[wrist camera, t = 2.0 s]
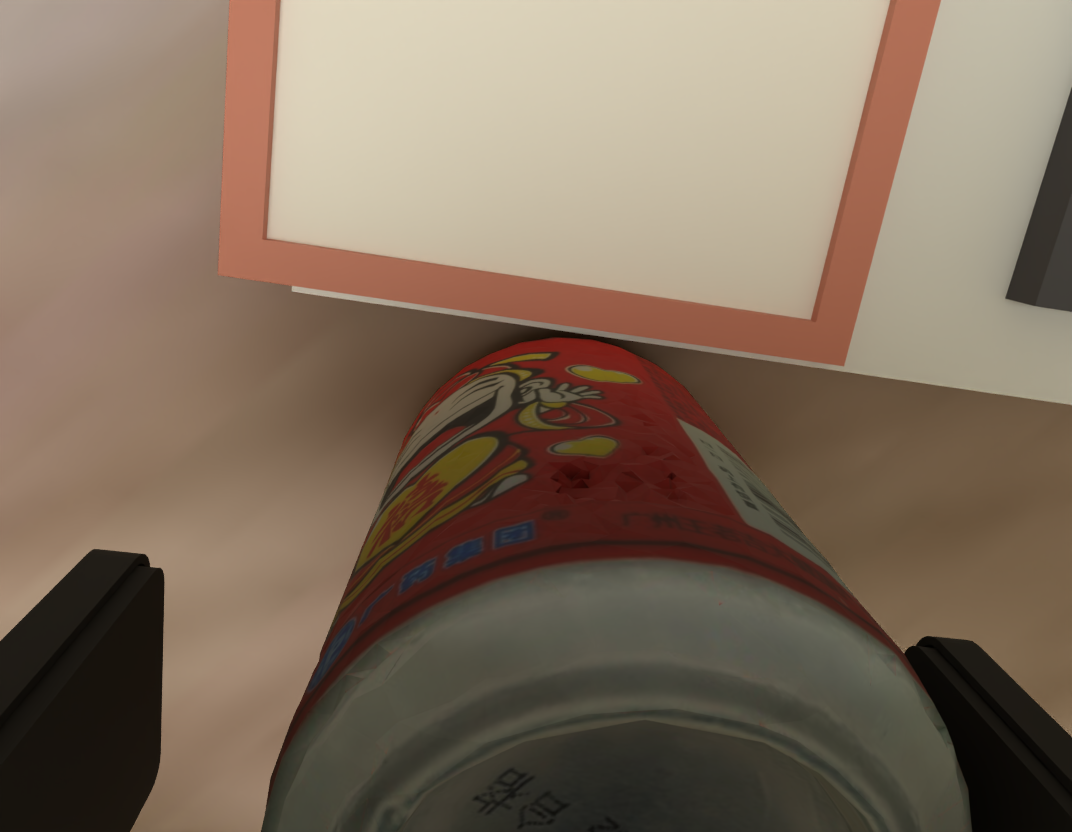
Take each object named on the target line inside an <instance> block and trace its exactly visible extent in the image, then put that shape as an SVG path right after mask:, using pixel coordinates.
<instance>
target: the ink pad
mask: <svg viewBox="0 0 1072 832" xmlns="http://www.w3.org/2000/svg"><path fill="white" fill-rule="evenodd" d="M1005 299H1009V300H1013V301H1016V302H1020V303H1024V304H1028V305H1032V306H1037V307H1043V308H1050V309H1056V310H1063V311H1069V312H1072V88H1071V91H1070V94H1069V97H1068V100H1067V104H1066V107H1065V110H1064V113H1063V116H1062V119H1061V123H1060V126H1059V129H1058V132H1057V135H1056V138H1055V142H1054V145H1053V148H1052V151H1051V154H1050V158H1049V161H1048V164H1047V167H1046V170H1045V173H1044V177H1043V180H1042V183H1041V186H1040V189H1039V193H1038V196H1037V199H1036V202H1035V205H1034V208H1033V212H1032V215H1031V218H1030V221H1029V224H1028V227H1027V231H1026V234H1025V237H1024V240H1023V243H1022V247H1021V250H1020V253H1019V256H1018V259H1017V262H1016V266H1015V269H1014V272H1013V275H1012V278H1011V282H1010V285H1009V288H1008V291H1007V294H1006V297H1005Z"/></svg>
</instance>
